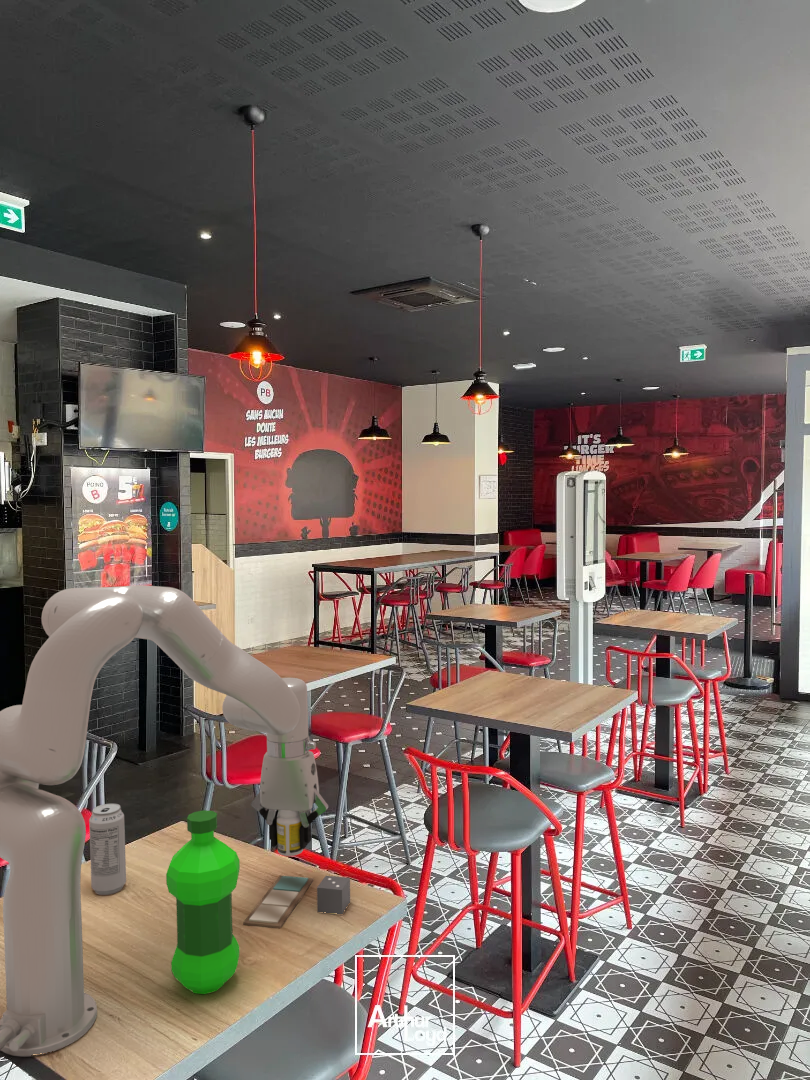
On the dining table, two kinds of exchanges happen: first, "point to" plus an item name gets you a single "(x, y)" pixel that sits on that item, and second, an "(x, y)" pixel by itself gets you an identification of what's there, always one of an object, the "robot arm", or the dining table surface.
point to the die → (333, 894)
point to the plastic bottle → (204, 907)
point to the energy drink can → (107, 849)
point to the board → (278, 902)
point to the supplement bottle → (288, 833)
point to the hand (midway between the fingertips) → (290, 843)
